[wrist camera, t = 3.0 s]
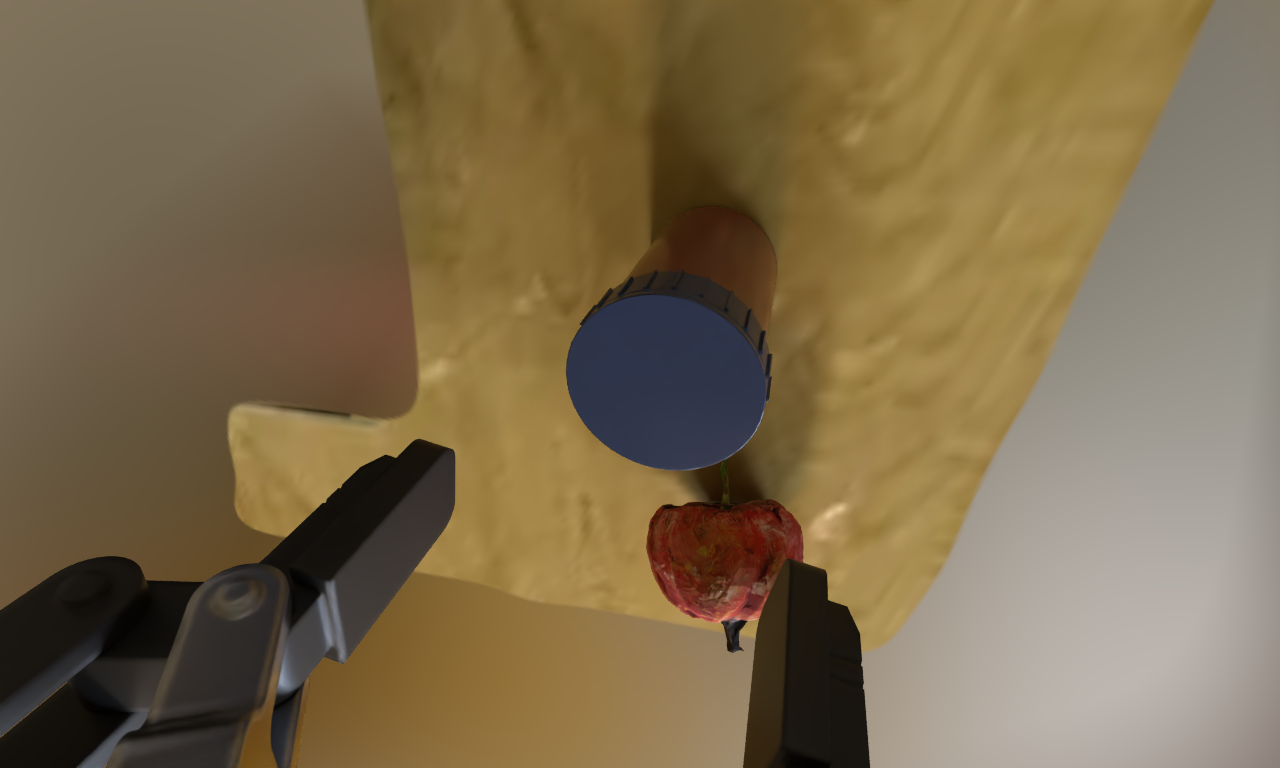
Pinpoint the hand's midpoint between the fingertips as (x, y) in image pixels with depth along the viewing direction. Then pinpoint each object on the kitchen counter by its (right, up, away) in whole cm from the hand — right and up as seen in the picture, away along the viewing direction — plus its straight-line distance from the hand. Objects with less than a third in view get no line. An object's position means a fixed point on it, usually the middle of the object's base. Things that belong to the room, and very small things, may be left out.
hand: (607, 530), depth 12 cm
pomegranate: (+6, -3, +19) cm, 20 cm away
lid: (+1, +3, +5) cm, 6 cm away
